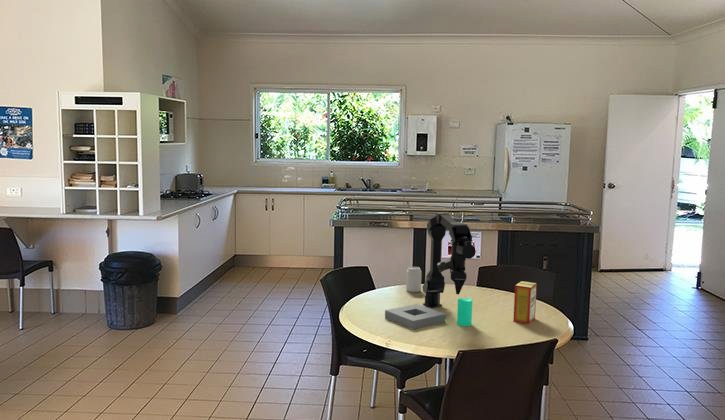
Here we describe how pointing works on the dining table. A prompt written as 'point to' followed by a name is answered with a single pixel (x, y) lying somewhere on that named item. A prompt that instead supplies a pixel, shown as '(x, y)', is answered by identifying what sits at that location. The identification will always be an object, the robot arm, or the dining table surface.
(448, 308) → the dining table surface
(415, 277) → the can
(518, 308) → the baking soda box
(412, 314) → the socket block
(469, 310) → the candle
